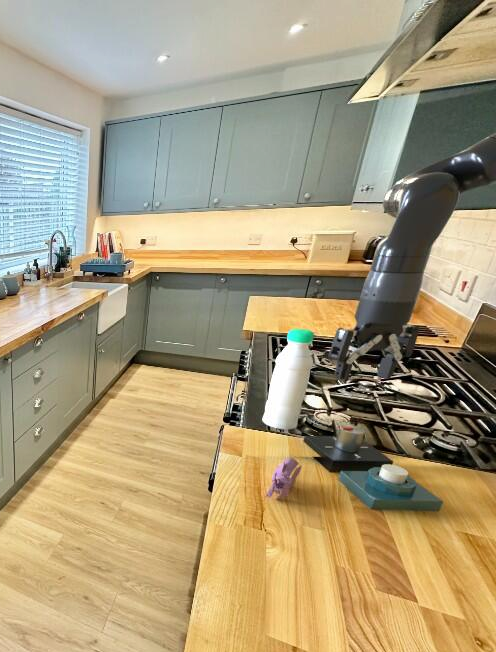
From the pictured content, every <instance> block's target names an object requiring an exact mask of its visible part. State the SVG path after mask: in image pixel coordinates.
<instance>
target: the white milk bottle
mask: <svg viewBox="0 0 496 652" xmlns="http://www.w3.org/2000/svg"><path fill="white" fill-rule="evenodd" d="M314 338H315V333H314V332H313V331H311V330H309V329H303V328H293V329H290V330H289V331H288V332H287V335H286V340H287V341H286V342H287V345H286V346H285V347H283V350H282V351H281V352H280V353H278V355H277V356H276V358H275V366H274V368H273V372H272V377H271V380H270V384H269V388H268V389H269V390H268V398H267V401H266V402H265V407H264V413H263V416H262V422H263V423H264V424H265V425H267V426H269V427H271V428H275V429H277V430H294V429H296V428H298V423H299V422H298V421H299V417H300V415H301V411H302V404H303V402H304V398H305V395H306V393H307V389H308V384H309V380H310V375H311V369H313V366H314V359H313V355H312V353H311V350H310V347H309V346H310V345H311V344H312V342H313V341H314Z"/></svg>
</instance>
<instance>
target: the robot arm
mask: <svg viewBox="0 0 496 652" xmlns="http://www.w3.org/2000/svg"><path fill="white" fill-rule="evenodd" d="M494 184H496V132H494V133H491V134H490V135H489V136H486V137H485V138H483V139H481V140H479V141H477V142H476V143H474V144H472V145H471V146H469V147H467V148H466V149H464V150H462V151H459V152H457V153H455V154H452V155H449V156H447V157H445V158H443V159H441V160H438V161H436V162H433V163H432V164H429V165H427V166H425V167H422V168H420V169H419V170H416V171H414V172H412V173H410V174H408V175H406V176H404V177H403V178H401V179H399V180H398V181H397V182H395V183H394V184H393V185H391V187H390V188H389V189H388V191H386V193H385V195H384V197H383V201H382V207H383V210H384V212H385V213H386V214H387V215H389V216H390V217H392V218H394V219H395V221H394V223H393V226H392V228H391V230H390V232H389V234H388V235H387V236H385V237H383V238H382V239H381V240H380V241H379V242H378V243H377V246H376V248H375V252H374V255H373V258H372V262H371V266H370V268H369V271H368V274H367V276H366V278H365V280H364V283H363V285H362V286H363V287H362V290H361V294H360V297H359V300H358V304H357V307H356V310H355V314H354V319H355V321H356V324H355V326H354V327H353V328H351V329H346V328H343V327H339V328H337V329H336V332H335V334H334V337H333V340H332V342H331V346H330V349H329V352H328V355H327V356H328V358H329V359H333V360H335V361H337V362H336V366H335V370H334V374H333V377H334V379H336V380H338V381H339V382H342V383H344V382H345V383H346V382H348V381H349V378H350V375H351V372H352V368H353V365H354V364H353V363H354V362H355V361H356V360H357V359H358V358H359V357H363V356H364V355H365V354H366V353H367V352H374V351H381V353H382V355H383V357H382V358H381V360H380V363H379V366H378V370H377V372H376V376H377V377H379V378H382V379H384V380H387V379H388V380H390V379H391V378H392V376H393V374H394V373H395V371H396V367H397V365H398V362H399V361H401V360H402V359H403V358H405V357H406V358H410V357H412V355H413V353H414V350H415V347H416V342H417V340H418V337H419V332H420V330H421V329H420V327H419V326H417V325H414V324H410V321H411V318H412V315H413V313H414V312H413V311H414V309H415V306H416V303H417V301H418V297H419V294H420V291H421V289H422V286H423V285H422V284H423V280H424V274H425V270H426V268H427V265H428V262H429V259H430V256H431V253H432V248H433V246H434V244H435V242H436V241H437V239H438V238H439V237H440V235H441V234H442V232H443V231H444V229H445V227H446V225H447V224H448V223H449V221H450V219H451V218H452V216H453V213H454V212H455V211H456V208H457V207H458V206H457V205H458V202H459V200H460V195H461V194H464V193H466V192H469V191H471V190H476V189H479V188H485V187H488V186H491V185H494ZM356 346H357V347H356ZM404 346H405V347H404Z"/></svg>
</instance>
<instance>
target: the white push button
mask: <svg viewBox="0 0 496 652" xmlns="http://www.w3.org/2000/svg"><path fill="white" fill-rule="evenodd" d="M408 475H409V471H408V470H407V469H405V468H403V467H401V466H399V465H396V464H392V465H390V464H385V465H382V467H381V470H380V473H379V477H380V478H382V479H384V480H386V481H388V482H392V483H396V484H404V483H405V481H406V479H407V476H408Z"/></svg>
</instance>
